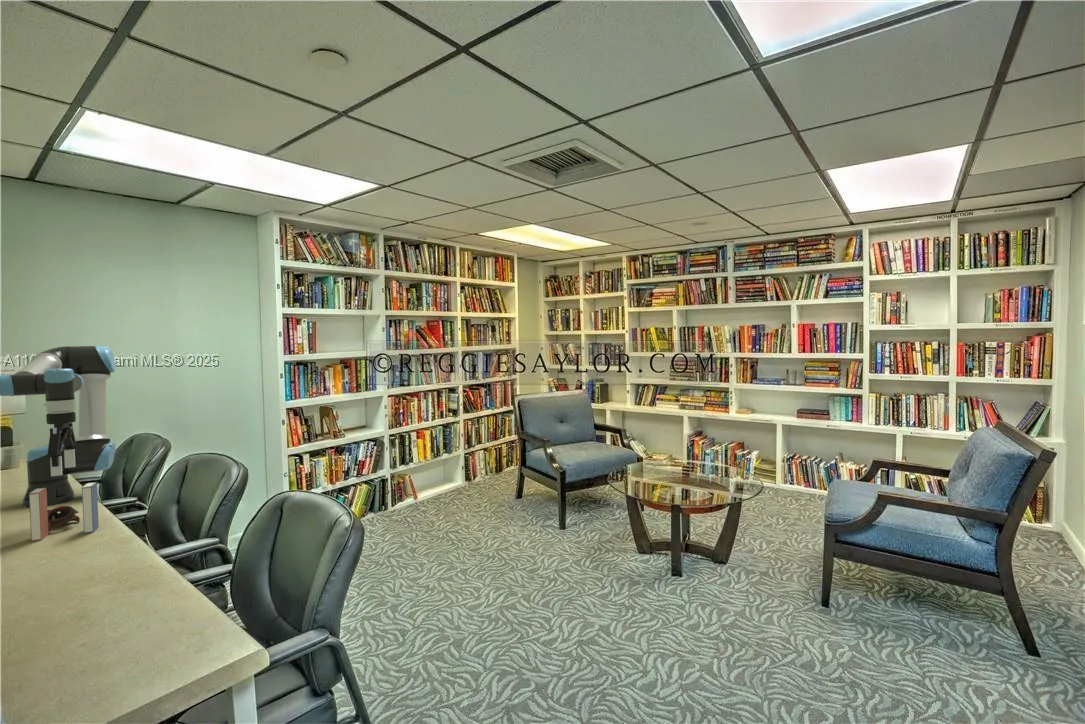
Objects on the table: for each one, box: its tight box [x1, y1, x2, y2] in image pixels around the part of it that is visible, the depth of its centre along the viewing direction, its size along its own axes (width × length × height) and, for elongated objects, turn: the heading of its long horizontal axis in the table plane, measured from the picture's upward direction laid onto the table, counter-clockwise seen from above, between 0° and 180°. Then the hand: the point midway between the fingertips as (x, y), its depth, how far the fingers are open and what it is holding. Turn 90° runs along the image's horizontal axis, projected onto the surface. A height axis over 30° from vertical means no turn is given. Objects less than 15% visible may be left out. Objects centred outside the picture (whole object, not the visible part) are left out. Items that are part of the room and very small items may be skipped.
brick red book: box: [29, 488, 49, 542], centre depth 167 cm, size 6×2×16 cm, turn 29°
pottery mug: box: [47, 505, 81, 532], centre depth 177 cm, size 12×9×8 cm
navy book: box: [81, 481, 100, 535], centre depth 173 cm, size 6×2×16 cm, turn 29°
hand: (63, 471), depth 178 cm, fingers open, 13 cm apart
